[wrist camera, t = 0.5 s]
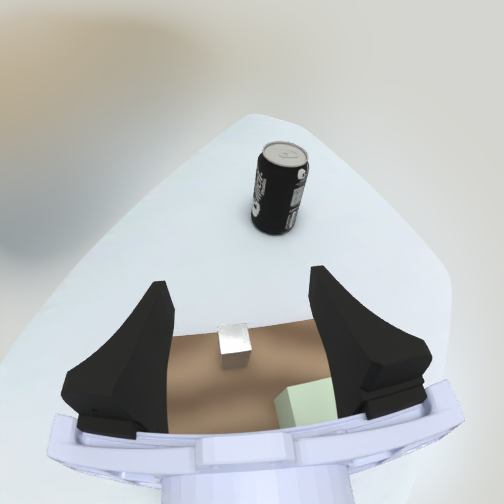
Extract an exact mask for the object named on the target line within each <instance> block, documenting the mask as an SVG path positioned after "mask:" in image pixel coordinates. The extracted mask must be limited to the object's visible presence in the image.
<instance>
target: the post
mask: <svg viewBox="0 0 504 504" xmlns="http://www.w3.org/2000/svg"><path fill="white" fill-rule="evenodd" d="M217 328H218V348H219V355H220V361H221V368H222V370H227V369H235V368H242V367H247V365H248V361H249V358H250V354H251V351H252V349H251V344H250V339H249V334H248V329H247V324H246V323H244V324H236V325H227V326H218V327H217Z"/></svg>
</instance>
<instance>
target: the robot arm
mask: <svg viewBox="0 0 504 504" xmlns="http://www.w3.org/2000/svg"><path fill="white" fill-rule="evenodd" d="M308 297H309V302H310V307H311V311H312V315H313V318H314V321H315V323H316V326H317V329H318V332H319V335H320V338H321V340H322V343H323V346H324V349H325V352H326V356H327V360H328V364H329V369H330V374H331V379H332V384H333V390H334V396H335V402H336V410H337V417H338V419H336V420H331V421H326V422H321V423H316V424H310V425H304V426H298V427H292V428H284V429H277V430H268V431H258V432H246V433H231V434H169V430H168V418H167V368H168V360H169V354H170V348H171V342H172V336H173V330H174V315H175V309H174V306H173V303H172V300H171V297H170V294H169V291H168V288H167V285H166V282H165V281H155V282H153V283H152V284H151V286H150V287H149V289H148V290H147V292H146V293H145V295H144V296H143V298H142V299H141V300H140V302H139V303H138V305H137V306H136V307H135V309H134V310H133V312H132V313H131V314H130V316H129V317H128V318H127V319H126V321H125V322H124V323H123V325H122V326H121V327H120V328H119V329H118V330H117V332H116V333H115V334H114V335H113V336H112V337H111V338H110V339H109V340H108V341H107V342H106V343H105V344H104V345H103V346H101V347H100V348H99V349H98V350H97V351H96V352H95V353H93V354H92V355H91V356H90V357H88V358H87V359H86V360H85V361H83V362H82V363H80V364H79V365H77V366H76V367H74V368H73V369H71V370H70V371H68V372H67V374H66V378H65V381H64V384H63V388H62V391H61V397H62V398H63V400H64V401H65V402H66V403H67V404H68V405H69V406H70V407H71V408H72V409H74V410H75V411H76V412H77V413H78V414H79V417H78V419H76V418H74V417H71V416H66V415H61V414H55V416H54V420H53V425H52V429H51V434H50V438H49V443H48V448H47V454H46V455H47V456H48V457H49V458H51V459H53V460H55V461H57V462H59V463H61V464H63V465H65V466H67V467H69V468H71V469H73V470H75V471H79V472H82V473H86V474H90V475H94V476H98V477H102V478H106V479H110V480H114V481H119V482H123V483H128V484H133V485H139V486H144V487H150V488H157V489H162V504H355V502H354V497H353V492H352V488H351V483H350V478H349V475H350V474H353V473H357V472H360V471H363V470H366V469H369V468H372V467H375V466H378V465H380V464H383V463H386V462H388V461H391V460H394V459H396V458H399V457H401V456H403V455H406V454H408V453H411V452H413V451H415V450H418V449H420V448H422V447H424V446H427V445H429V444H431V443H433V442H435V441H437V440H440V439H441V438H443V437H444V436H446V435H447V434H448V433H450V432H451V431H452V430H454V429H455V428H456V427H458V426H459V425H460V424H461V423H463V422H464V421H465V417H464V415H463V412H462V410H461V407H460V405H459V403H458V400H457V398H456V396H455V394H454V391H453V389H452V387H451V385H450V383H449V381H448V380H447V379H446V380H443V381H441V382H438V383H436V384H433V385H431V386H429V387H427V388H426V389H424V387H423V385H422V384H423V383H424V379H423V377H422V375H423V374H424V372H425V371H426V369H427V368H428V367H429V365H430V363H431V361H432V355H431V353H430V351H429V349H428V346H427V345H426V343H425V342H424V340H422V339H420V338H417V337H415V336H413V335H410V334H408V333H406V332H404V331H402V330H400V329H398V328H396V327H394V326H393V325H391V324H389V323H388V322H386V321H384V320H383V319H381V318H380V317H378V316H377V315H375V314H374V313H373V312H371V311H370V310H369V309H367V308H366V307H365V306H363V305H362V304H361V303H360V302H359V301H358V300H356V299H355V298H354V297H353V296H352V295H351V294H350V293H349V292H348V291H347V290H346V289H345V288H344V287H343V286H342V285H341V284H340V283H339V282H338V281H337V280H336V279H335V278H334V277H333V276H332V274H331V273H330V272H329V271H328V270H327V269H326V268H325V267H324V266H323V265H322V266H313V267H311V273H310V284H309V295H308Z"/></svg>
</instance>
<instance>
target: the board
mask: <svg viewBox="0 0 504 504" xmlns="http://www.w3.org/2000/svg"><path fill="white" fill-rule="evenodd" d="M248 334H249V339H250V344H251V349H252V351H251V354H250V358H249V361H248V365H247V367H242V368H235V369H227V370H222V368H221V361H220V355H219V348H218V332H217V333H207V334H197V335H186V336H174V337H172V342H171V348H170V354H169V360H168V368H167V418H168V430H169V434H231V433H246V432H258V431H268V430H277V429H280V426H279V421H278V417H277V412H276V408H275V403H274V399H275V398H276V397H277V396H278V395H279V394H280V393H281V392H282V391H283V390H284V389H285V388H286V387H290V386H295V385H299V384H304V383H308V382H313V381H317V380H321V379H325V378H329V377H331V374H330V369H329V364H328V360H327V356H326V352H325V349H324V346H323V343H322V340H321V338H320V335H319V332H318V329H317V326H316V323H315V321H314V319H310V320H304V321H298V322H292V323H285V324H279V325H272V326H265V327H258V328H250V329H248Z"/></svg>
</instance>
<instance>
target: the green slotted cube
mask: <svg viewBox="0 0 504 504" xmlns="http://www.w3.org/2000/svg"><path fill="white" fill-rule="evenodd" d="M274 403H275V408H276V412H277V417H278V421H279V426H280V429H284V428H292V427H298V426H304V425H310V424H316V423H321V422H326V421H331V420H336V419H338V417H337V410H336V402H335V396H334V390H333V384H332V379H331V377H329V378H325V379H321V380H317V381H313V382H308V383H304V384H299V385H295V386H290V387H286V388H285V389H284V390H283V391H282V392H281V393H280V394H279V395H278V396H277V397H276V398H275V399H274Z"/></svg>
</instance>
